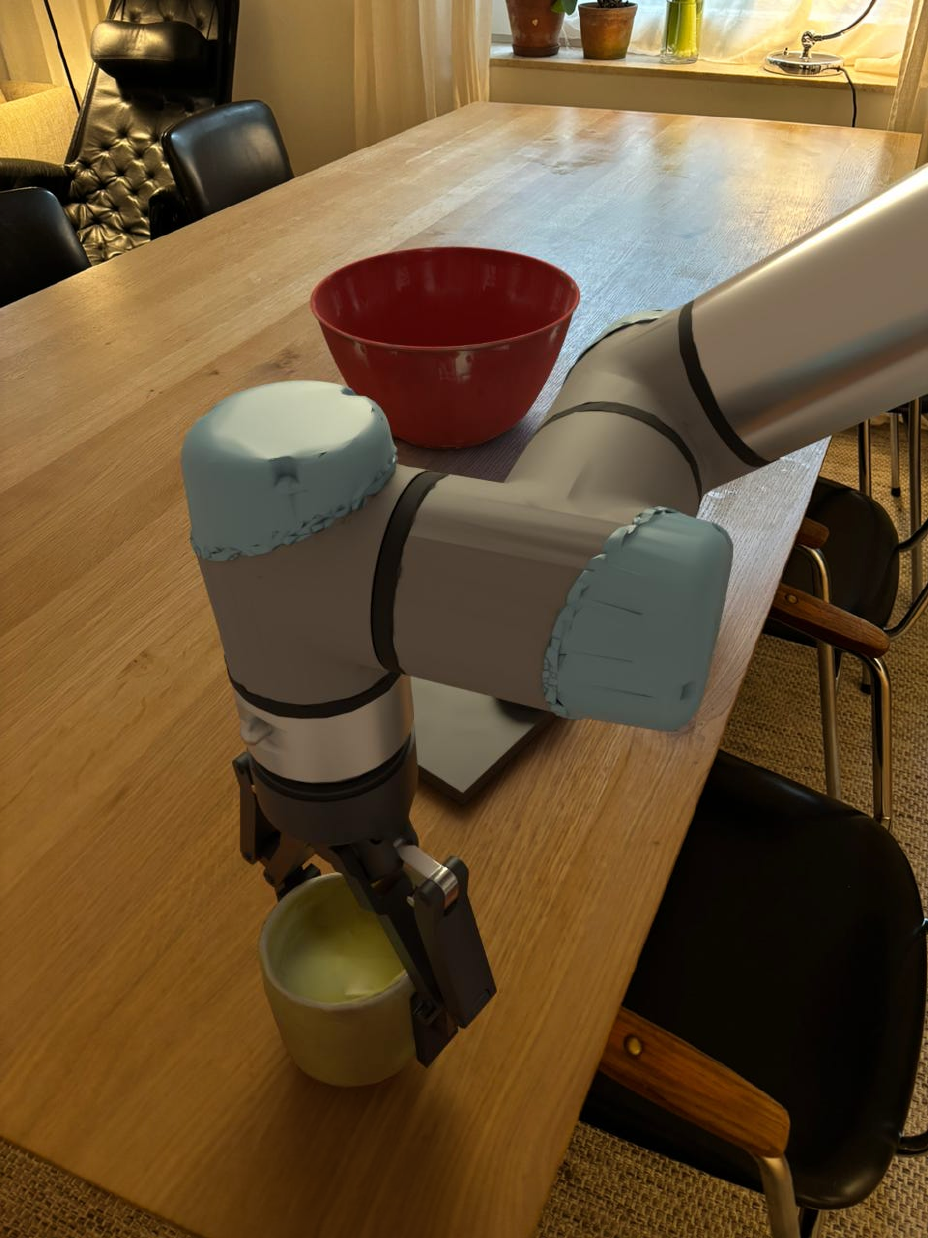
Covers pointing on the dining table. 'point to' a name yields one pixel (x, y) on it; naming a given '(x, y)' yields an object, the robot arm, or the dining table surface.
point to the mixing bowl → (447, 337)
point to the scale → (468, 736)
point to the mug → (336, 985)
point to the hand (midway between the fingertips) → (372, 993)
